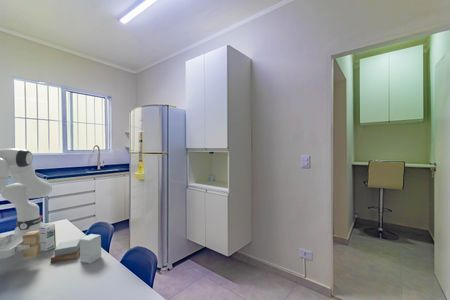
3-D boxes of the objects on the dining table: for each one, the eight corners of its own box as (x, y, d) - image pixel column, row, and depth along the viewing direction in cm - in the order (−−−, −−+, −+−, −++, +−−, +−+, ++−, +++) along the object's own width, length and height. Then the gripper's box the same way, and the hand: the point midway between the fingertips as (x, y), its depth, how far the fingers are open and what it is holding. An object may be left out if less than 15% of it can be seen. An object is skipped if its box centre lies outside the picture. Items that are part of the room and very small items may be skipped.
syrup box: (46, 251, 127) (46, 227, 127) (38, 250, 128) (38, 226, 128) (56, 246, 133) (55, 223, 133) (48, 246, 134) (47, 223, 134)
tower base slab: (60, 253, 126) (60, 247, 125) (83, 250, 129) (83, 244, 129) (50, 264, 114) (50, 257, 114) (76, 260, 118) (76, 253, 118)
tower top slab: (60, 248, 125) (60, 242, 125) (80, 244, 129) (80, 239, 129) (54, 256, 115) (54, 249, 115) (76, 252, 120) (76, 246, 119)
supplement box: (101, 257, 120) (101, 234, 119) (90, 264, 112) (89, 240, 112) (91, 255, 122) (91, 233, 122) (79, 262, 115) (78, 238, 114)
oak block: (29, 254, 112) (28, 231, 112) (40, 252, 114) (40, 230, 113) (23, 258, 107) (22, 235, 107) (35, 257, 109) (34, 234, 109)
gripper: (-17, 250, 97) (20, 246, 101) (13, 232, 116) (44, 229, 120) (-16, 264, 97) (21, 259, 101) (14, 244, 116) (44, 240, 120)
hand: (33, 243), depth 111 cm, fingers closed on oak block, 5 cm apart
